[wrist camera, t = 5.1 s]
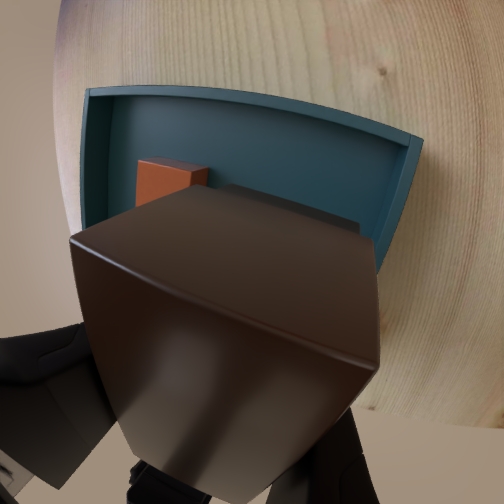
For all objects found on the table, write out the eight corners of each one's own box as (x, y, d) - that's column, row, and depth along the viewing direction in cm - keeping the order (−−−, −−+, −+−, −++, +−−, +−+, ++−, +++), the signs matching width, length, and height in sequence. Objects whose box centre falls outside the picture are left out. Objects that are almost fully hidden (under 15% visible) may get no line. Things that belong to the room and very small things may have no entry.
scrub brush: (198, 365, 11) (132, 453, 7) (224, 173, 7) (66, 235, 3) (287, 402, 10) (242, 507, 6) (371, 218, 6) (383, 368, 2)
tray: (109, 242, 23) (84, 256, 20) (116, 89, 17) (85, 88, 14) (337, 333, 18) (331, 364, 16) (410, 138, 12) (424, 139, 9)
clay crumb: (153, 211, 19) (134, 220, 17) (157, 155, 17) (137, 159, 15) (201, 227, 18) (184, 238, 16) (209, 167, 16) (191, 171, 14)
